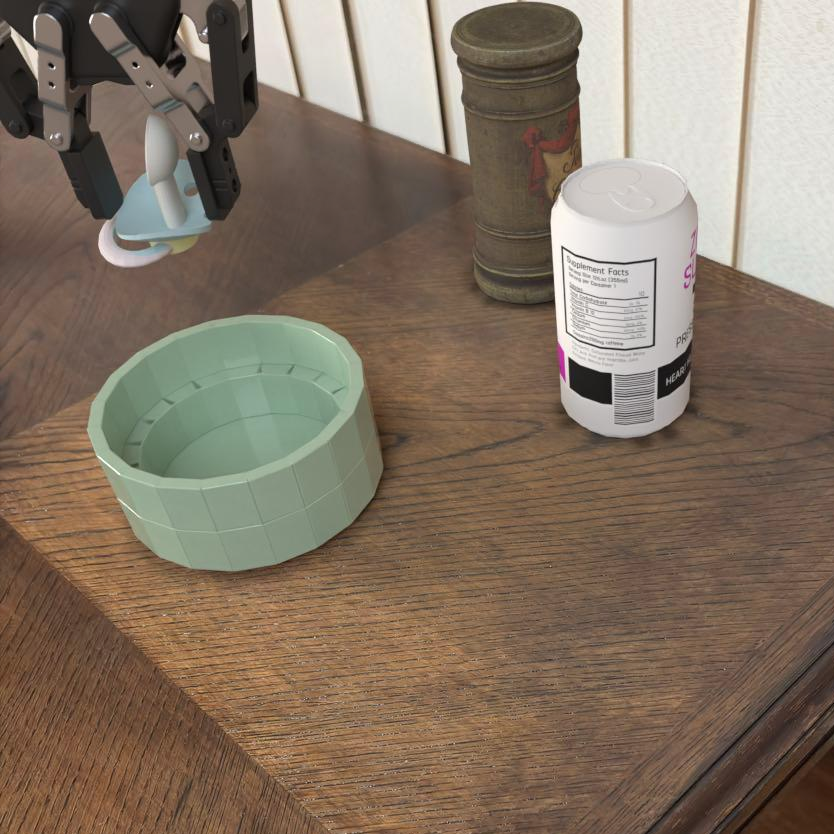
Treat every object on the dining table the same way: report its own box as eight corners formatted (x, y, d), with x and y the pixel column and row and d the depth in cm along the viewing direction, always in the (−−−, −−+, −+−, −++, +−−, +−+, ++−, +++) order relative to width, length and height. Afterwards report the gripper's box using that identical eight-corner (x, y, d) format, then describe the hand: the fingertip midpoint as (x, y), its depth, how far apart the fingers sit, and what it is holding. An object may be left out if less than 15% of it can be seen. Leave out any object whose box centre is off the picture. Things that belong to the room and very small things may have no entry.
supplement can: (539, 390, 71) (523, 179, 60) (646, 350, 73) (649, 139, 62) (600, 461, 65) (594, 244, 55) (713, 415, 68) (729, 198, 57)
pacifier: (94, 287, 52) (217, 269, 52) (40, 167, 47) (175, 148, 48) (113, 212, 57) (225, 195, 57) (65, 97, 52) (187, 79, 53)
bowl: (88, 568, 62) (39, 481, 57) (184, 398, 72) (151, 311, 67) (347, 584, 60) (321, 495, 55) (408, 406, 70) (390, 317, 65)
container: (465, 304, 78) (431, 54, 65) (486, 239, 84) (459, -2, 71) (587, 307, 77) (578, 53, 64) (599, 241, 83) (593, -4, 70)
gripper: (234, -219, 43) (323, 176, 55) (-92, -203, 45) (65, 175, 57) (165, -167, 38) (280, 255, 50) (-199, -152, 40) (-2, 251, 52)
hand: (165, 211), depth 53 cm, fingers closed on pacifier, 5 cm apart
